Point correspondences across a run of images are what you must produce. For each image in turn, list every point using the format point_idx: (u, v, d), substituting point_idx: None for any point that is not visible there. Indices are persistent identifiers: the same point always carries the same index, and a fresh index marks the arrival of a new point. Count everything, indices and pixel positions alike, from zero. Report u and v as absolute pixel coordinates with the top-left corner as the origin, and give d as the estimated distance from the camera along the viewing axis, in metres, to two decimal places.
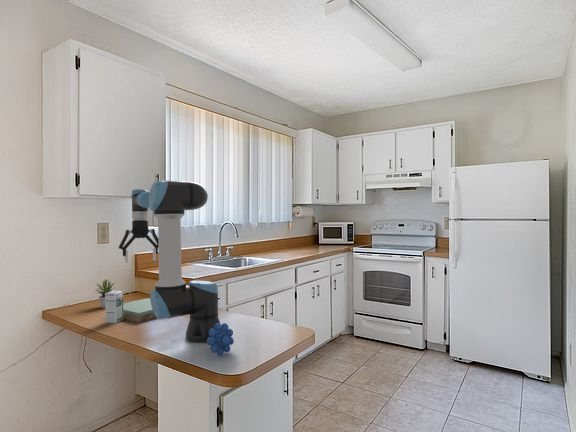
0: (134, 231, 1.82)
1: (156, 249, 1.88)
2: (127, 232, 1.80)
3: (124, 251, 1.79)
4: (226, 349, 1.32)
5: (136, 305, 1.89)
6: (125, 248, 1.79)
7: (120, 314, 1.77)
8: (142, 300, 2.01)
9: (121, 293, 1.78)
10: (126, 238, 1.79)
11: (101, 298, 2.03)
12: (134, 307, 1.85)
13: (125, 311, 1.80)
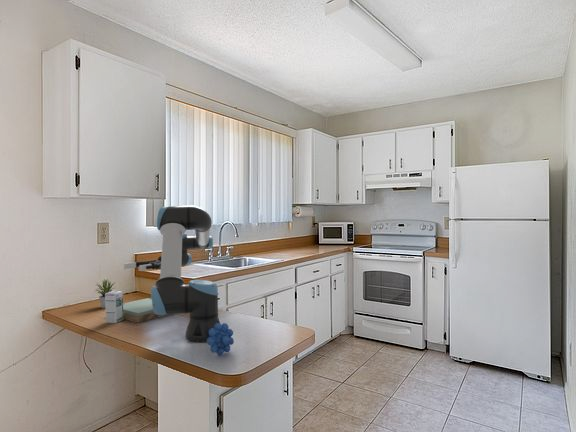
0: None
1: (150, 265, 1.85)
2: None
3: None
4: (226, 349, 1.32)
5: (136, 305, 1.89)
6: (136, 262, 1.95)
7: (120, 314, 1.77)
8: (142, 300, 2.01)
9: (121, 293, 1.78)
10: (144, 261, 1.99)
11: (101, 298, 2.03)
12: (134, 307, 1.85)
13: (125, 311, 1.80)
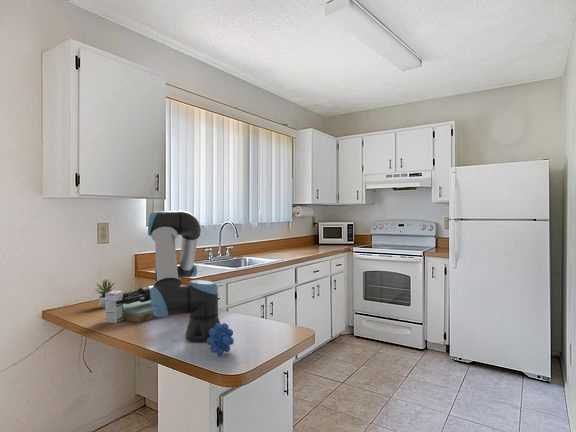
0: None
1: (121, 300, 1.75)
2: None
3: None
4: (226, 349, 1.32)
5: (136, 305, 1.89)
6: None
7: (120, 314, 1.77)
8: None
9: (121, 293, 1.78)
10: (123, 294, 1.87)
11: (101, 298, 2.03)
12: (134, 307, 1.85)
13: (125, 311, 1.80)
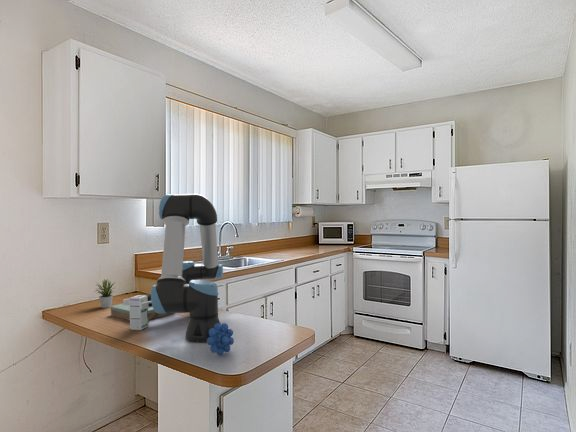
0: None
1: None
2: None
3: None
4: (226, 349, 1.32)
5: None
6: None
7: (145, 320, 1.65)
8: None
9: (146, 298, 1.67)
10: (147, 294, 1.77)
11: (101, 298, 2.03)
12: None
13: (125, 311, 1.80)
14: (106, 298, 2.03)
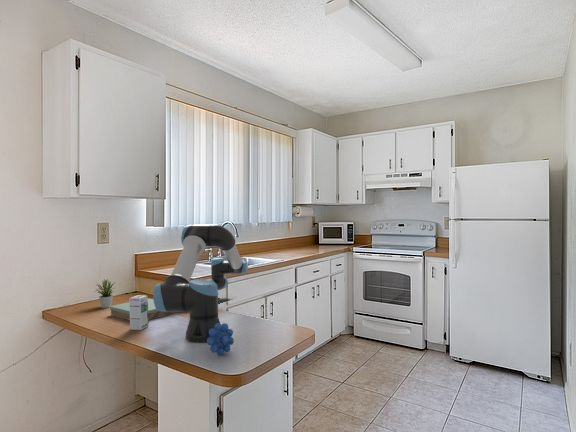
0: None
1: None
2: None
3: None
4: (226, 349, 1.32)
5: None
6: None
7: (145, 320, 1.65)
8: None
9: (146, 298, 1.67)
10: None
11: (101, 298, 2.03)
12: None
13: (125, 311, 1.80)
14: (106, 298, 2.03)
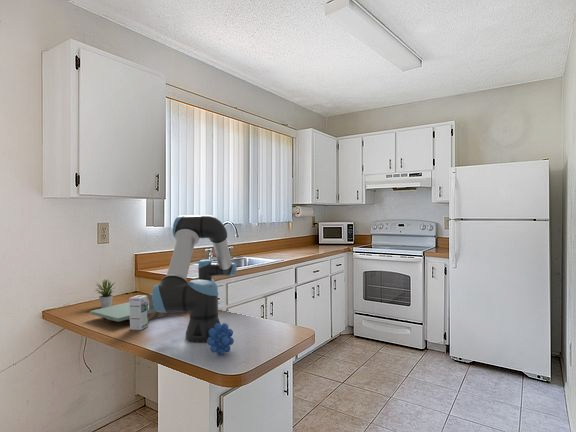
0: None
1: None
2: None
3: None
4: (226, 349, 1.32)
5: (117, 309, 1.81)
6: None
7: (145, 320, 1.65)
8: (124, 304, 1.92)
9: (146, 298, 1.67)
10: None
11: (101, 298, 2.03)
12: (114, 312, 1.77)
13: (104, 316, 1.72)
14: (106, 298, 2.03)
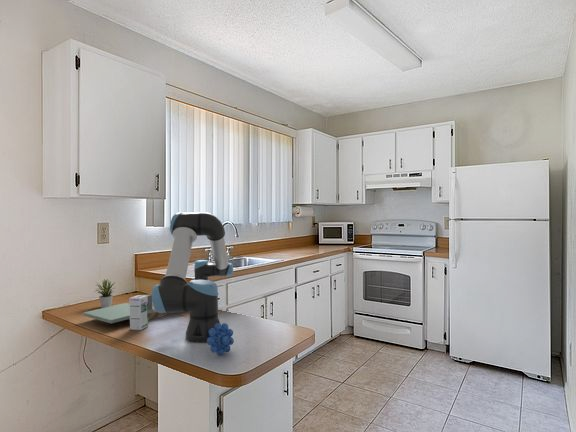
0: None
1: None
2: None
3: None
4: (226, 349, 1.32)
5: (111, 311, 1.78)
6: None
7: (145, 320, 1.65)
8: (118, 305, 1.89)
9: (146, 298, 1.67)
10: None
11: (101, 298, 2.03)
12: (108, 313, 1.74)
13: (98, 318, 1.69)
14: (106, 298, 2.03)
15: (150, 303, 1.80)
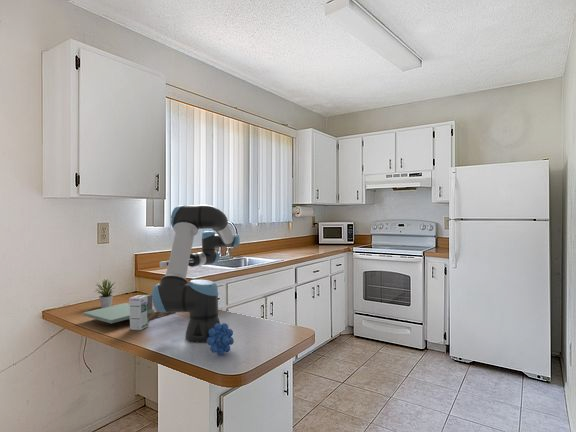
0: None
1: None
2: None
3: None
4: (226, 349, 1.32)
5: (111, 311, 1.78)
6: None
7: (145, 320, 1.65)
8: (118, 305, 1.89)
9: (146, 298, 1.67)
10: None
11: (101, 298, 2.03)
12: (108, 313, 1.74)
13: (97, 318, 1.69)
14: (106, 298, 2.03)
15: (150, 303, 1.80)
